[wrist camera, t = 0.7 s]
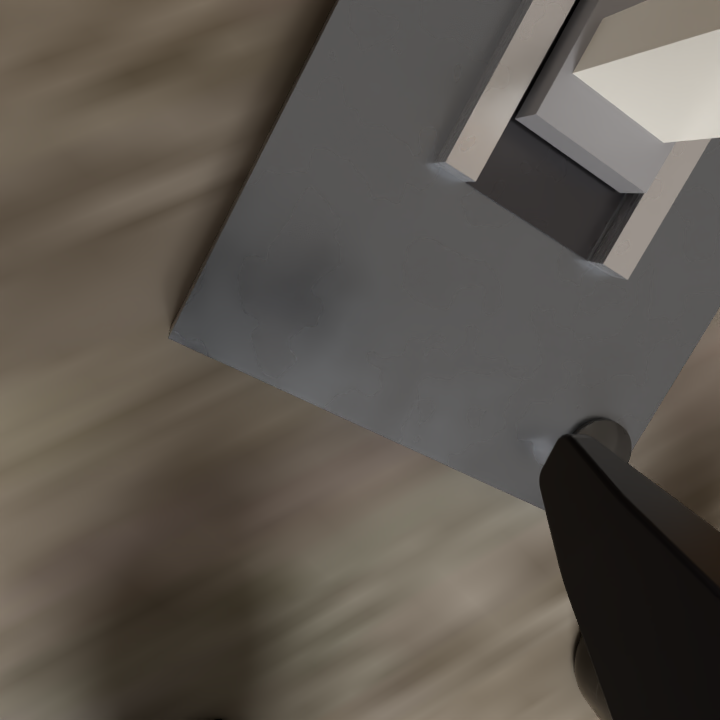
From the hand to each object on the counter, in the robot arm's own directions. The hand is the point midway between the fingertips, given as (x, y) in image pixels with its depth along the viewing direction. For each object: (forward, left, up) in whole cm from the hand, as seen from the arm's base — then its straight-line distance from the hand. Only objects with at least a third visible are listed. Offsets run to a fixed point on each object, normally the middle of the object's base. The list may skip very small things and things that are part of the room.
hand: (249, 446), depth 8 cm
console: (0, -13, -14) cm, 19 cm away
